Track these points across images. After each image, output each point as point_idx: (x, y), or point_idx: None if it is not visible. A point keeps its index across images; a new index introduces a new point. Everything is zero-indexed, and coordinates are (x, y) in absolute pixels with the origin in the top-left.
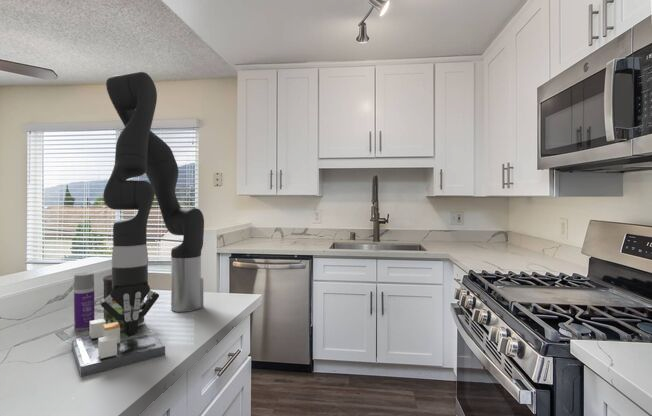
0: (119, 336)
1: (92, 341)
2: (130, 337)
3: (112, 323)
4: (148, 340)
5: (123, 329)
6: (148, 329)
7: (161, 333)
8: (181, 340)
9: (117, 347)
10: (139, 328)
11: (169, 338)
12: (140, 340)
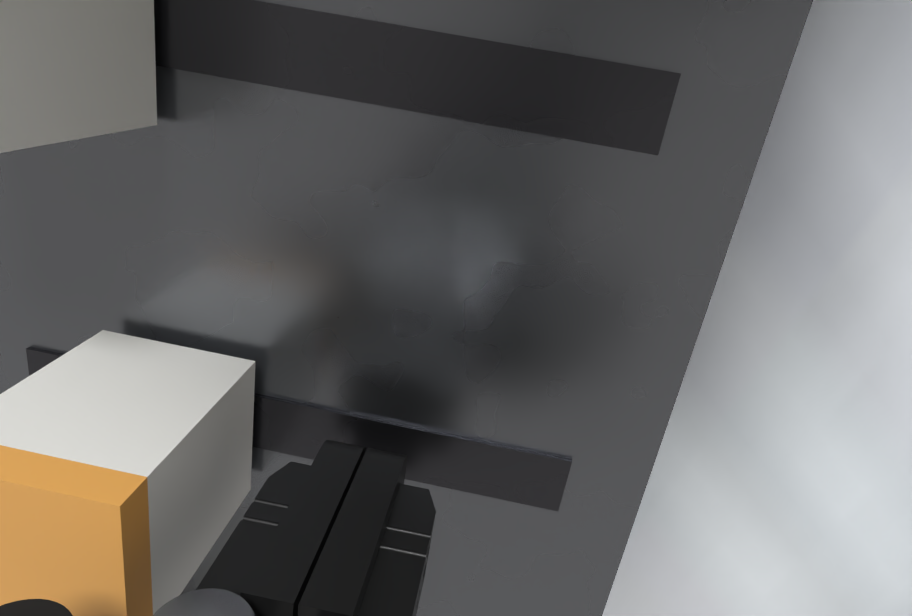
0: (211, 537)
1: (12, 165)
2: (400, 389)
3: (40, 524)
4: (500, 611)
5: (255, 504)
6: (701, 291)
7: (862, 255)
8: (828, 601)
9: (216, 544)
10: (636, 149)
11: (797, 473)
12: (443, 553)
